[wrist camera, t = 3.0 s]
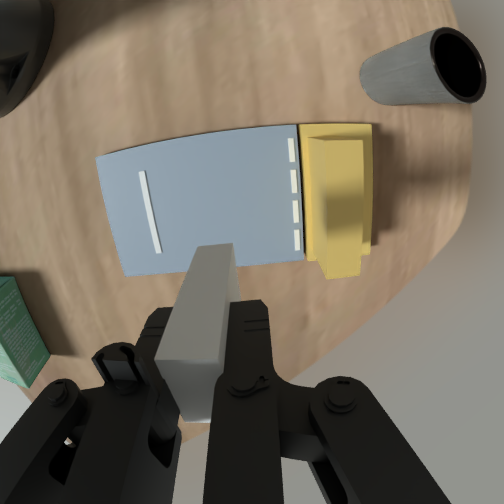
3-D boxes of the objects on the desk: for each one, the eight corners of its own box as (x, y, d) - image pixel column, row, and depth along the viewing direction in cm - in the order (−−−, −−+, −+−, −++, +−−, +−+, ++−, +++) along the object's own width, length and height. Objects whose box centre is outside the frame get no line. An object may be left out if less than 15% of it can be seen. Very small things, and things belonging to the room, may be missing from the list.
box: (14, 272, 25) (-21, 305, 19) (52, 354, 31) (30, 390, 24) (-14, 273, 26) (-45, 301, 19) (23, 348, 31) (1, 379, 25)
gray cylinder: (365, 106, 19) (440, 102, 10) (353, 55, 18) (420, 20, 8) (409, 104, 19) (492, 105, 10) (399, 56, 17) (476, 34, 8)
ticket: (101, 155, 21) (94, 157, 19) (293, 124, 20) (296, 124, 19) (129, 270, 25) (124, 277, 24) (301, 253, 25) (303, 260, 24)
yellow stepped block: (297, 124, 20) (316, 123, 14) (365, 124, 20) (401, 125, 14) (305, 255, 25) (320, 292, 19) (364, 248, 24) (392, 282, 19)
